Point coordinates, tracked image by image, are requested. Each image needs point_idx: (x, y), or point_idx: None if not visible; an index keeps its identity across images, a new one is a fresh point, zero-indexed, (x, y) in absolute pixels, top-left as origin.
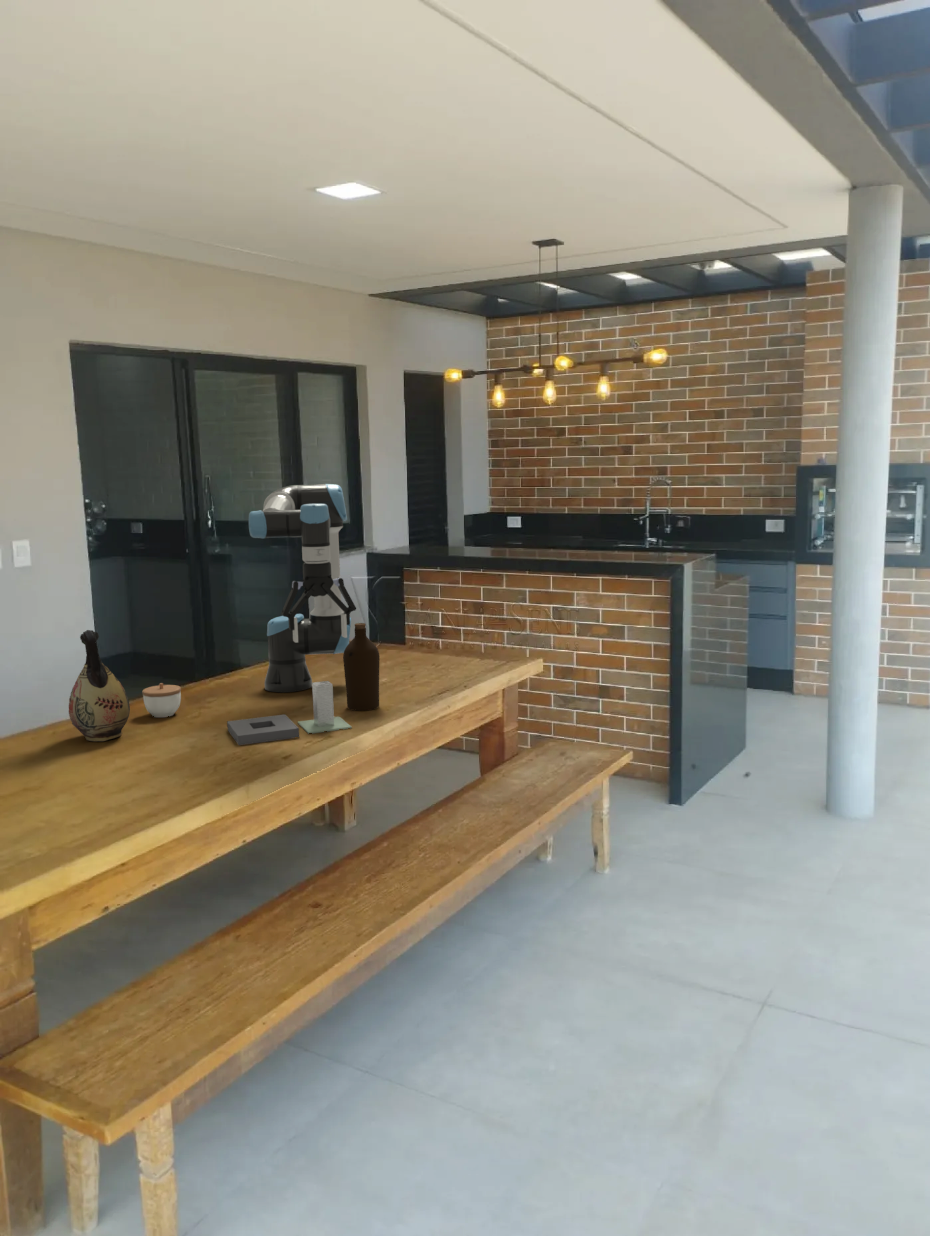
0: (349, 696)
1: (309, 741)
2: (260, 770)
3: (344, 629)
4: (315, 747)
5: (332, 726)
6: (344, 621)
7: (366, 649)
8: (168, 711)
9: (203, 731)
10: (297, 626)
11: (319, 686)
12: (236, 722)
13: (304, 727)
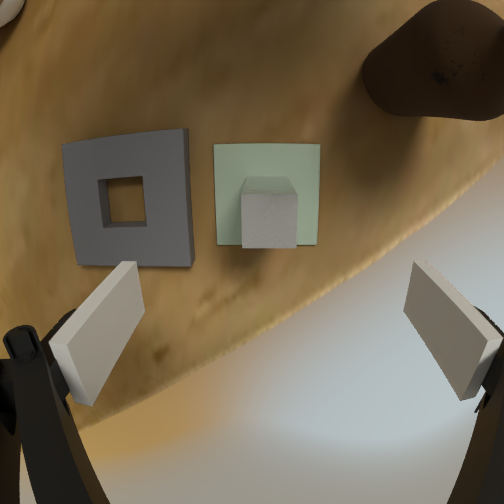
0: (375, 81)
1: (209, 293)
2: (124, 384)
3: (422, 336)
4: (212, 331)
5: None
6: (443, 367)
7: (494, 109)
8: (5, 23)
9: (37, 135)
10: (112, 367)
11: (252, 247)
12: (76, 160)
13: (217, 203)
